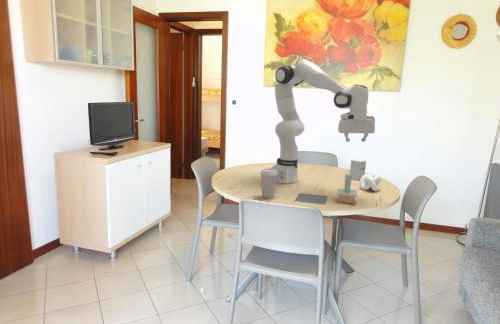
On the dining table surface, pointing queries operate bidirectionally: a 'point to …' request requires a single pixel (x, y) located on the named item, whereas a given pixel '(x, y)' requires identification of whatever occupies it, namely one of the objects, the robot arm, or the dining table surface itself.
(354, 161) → the supplement box
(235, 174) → the dining table surface
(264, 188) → the coffee cup
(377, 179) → the white knot sculpture
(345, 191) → the lid
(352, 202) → the open box
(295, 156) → the robot arm
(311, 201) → the mat
